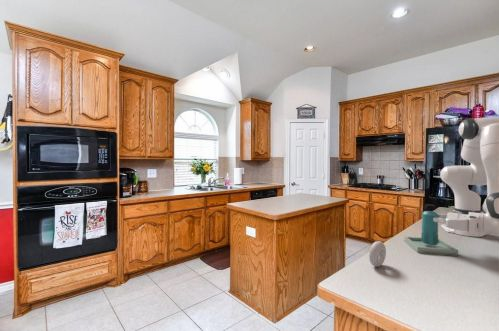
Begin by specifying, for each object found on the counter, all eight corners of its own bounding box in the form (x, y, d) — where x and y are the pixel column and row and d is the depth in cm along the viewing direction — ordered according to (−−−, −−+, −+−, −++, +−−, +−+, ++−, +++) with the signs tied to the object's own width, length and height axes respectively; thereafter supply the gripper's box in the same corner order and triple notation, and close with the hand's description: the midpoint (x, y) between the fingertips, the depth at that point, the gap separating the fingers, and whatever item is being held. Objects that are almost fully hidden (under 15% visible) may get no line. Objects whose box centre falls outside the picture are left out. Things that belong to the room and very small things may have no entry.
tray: (404, 241, 129) (404, 236, 129) (439, 243, 125) (439, 238, 125) (417, 252, 113) (417, 247, 113) (458, 256, 110) (458, 250, 109)
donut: (376, 271, 94) (376, 245, 94) (367, 268, 97) (367, 243, 97) (387, 264, 101) (387, 239, 101) (378, 261, 104) (378, 237, 103)
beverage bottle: (440, 248, 115) (442, 206, 115) (424, 247, 117) (425, 205, 116) (433, 244, 122) (434, 203, 121) (418, 243, 123) (419, 203, 122)
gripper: (473, 211, 116) (436, 207, 125) (474, 219, 101) (432, 214, 110) (472, 224, 117) (435, 220, 126) (474, 234, 101) (432, 228, 110)
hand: (434, 217), depth 118 cm, fingers open, 8 cm apart
